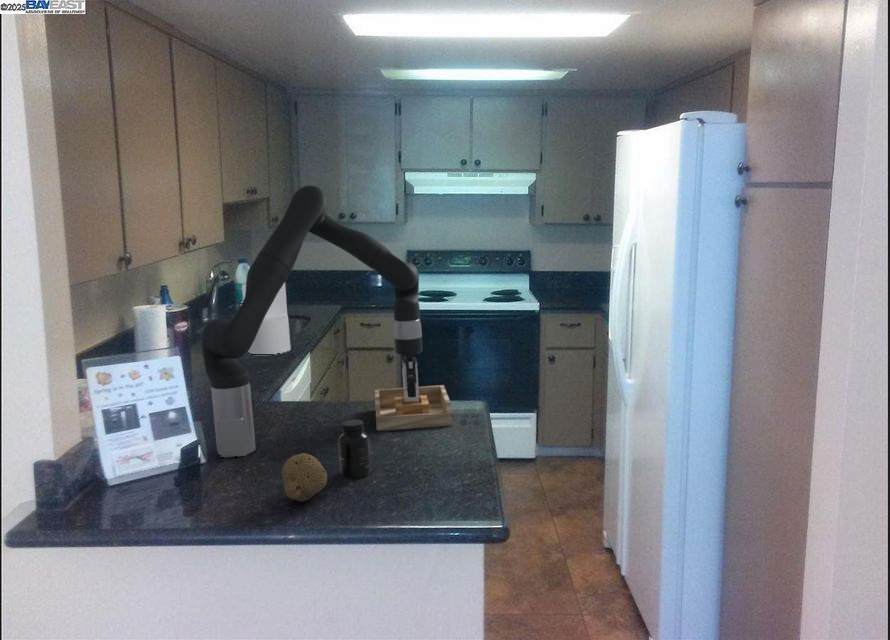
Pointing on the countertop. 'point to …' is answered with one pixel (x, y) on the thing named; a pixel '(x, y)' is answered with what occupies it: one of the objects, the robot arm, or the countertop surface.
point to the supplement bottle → (354, 450)
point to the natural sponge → (303, 477)
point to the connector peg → (406, 398)
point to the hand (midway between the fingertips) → (411, 393)
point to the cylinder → (273, 327)
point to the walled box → (412, 409)
